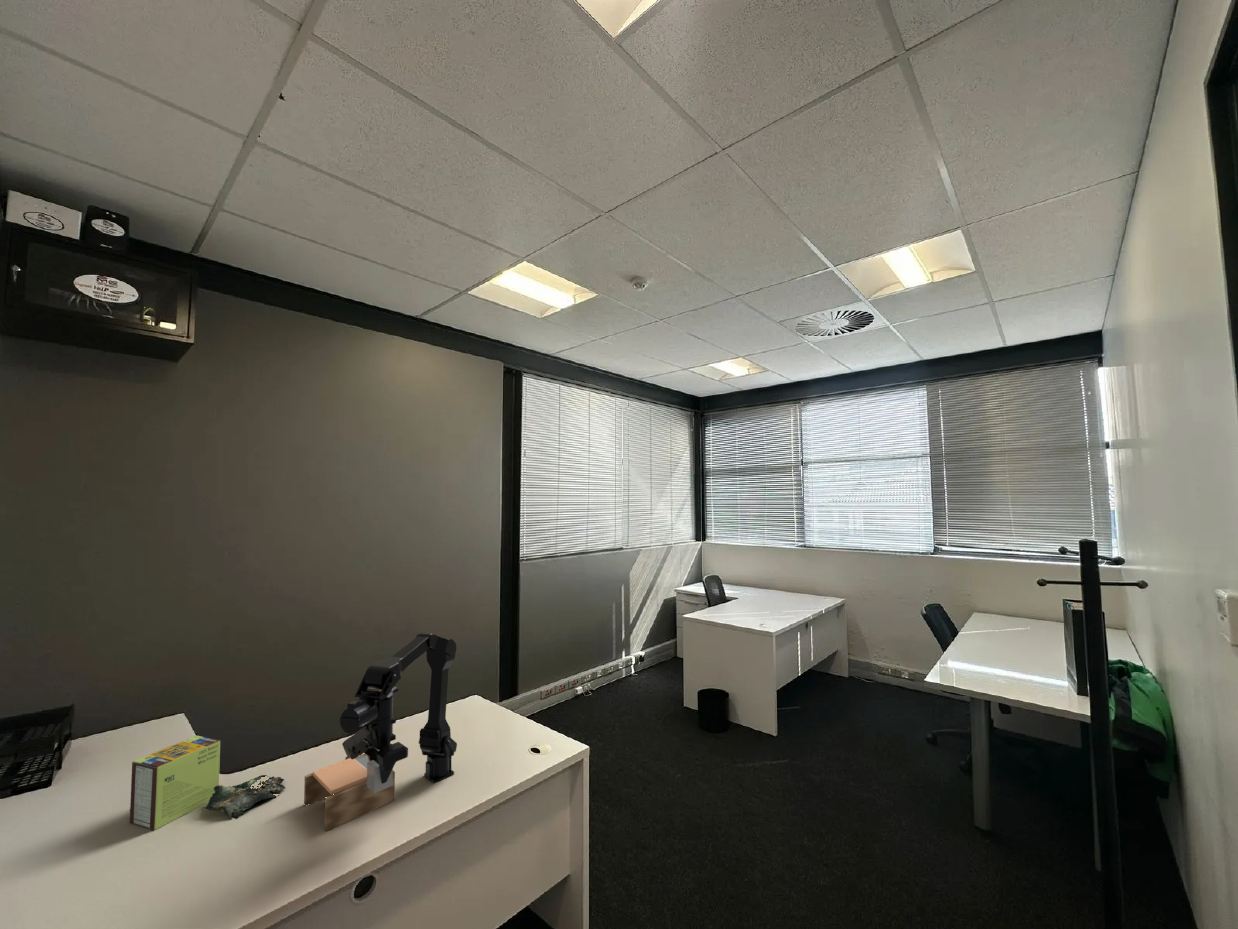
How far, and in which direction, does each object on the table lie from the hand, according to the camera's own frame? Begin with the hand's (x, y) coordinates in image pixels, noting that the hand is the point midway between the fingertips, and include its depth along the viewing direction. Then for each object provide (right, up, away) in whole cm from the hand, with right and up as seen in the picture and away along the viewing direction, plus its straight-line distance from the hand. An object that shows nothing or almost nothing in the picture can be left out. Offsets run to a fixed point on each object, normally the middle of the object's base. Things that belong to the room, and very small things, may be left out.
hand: (379, 779), depth 128 cm
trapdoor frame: (-13, -12, +10) cm, 20 cm away
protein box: (-59, -13, +8) cm, 61 cm away
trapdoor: (-13, -8, +10) cm, 18 cm away
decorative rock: (-42, -14, +13) cm, 46 cm away
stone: (0, -2, 0) cm, 2 cm away
